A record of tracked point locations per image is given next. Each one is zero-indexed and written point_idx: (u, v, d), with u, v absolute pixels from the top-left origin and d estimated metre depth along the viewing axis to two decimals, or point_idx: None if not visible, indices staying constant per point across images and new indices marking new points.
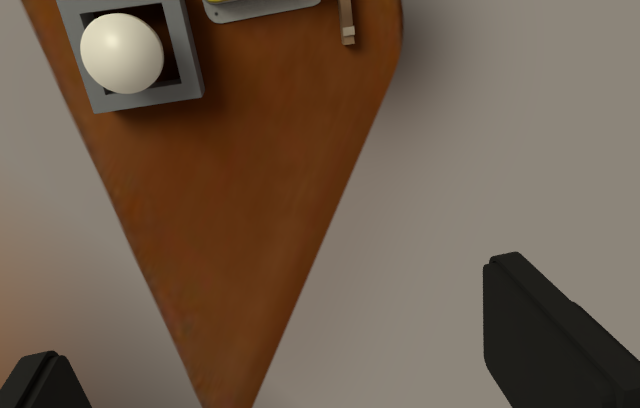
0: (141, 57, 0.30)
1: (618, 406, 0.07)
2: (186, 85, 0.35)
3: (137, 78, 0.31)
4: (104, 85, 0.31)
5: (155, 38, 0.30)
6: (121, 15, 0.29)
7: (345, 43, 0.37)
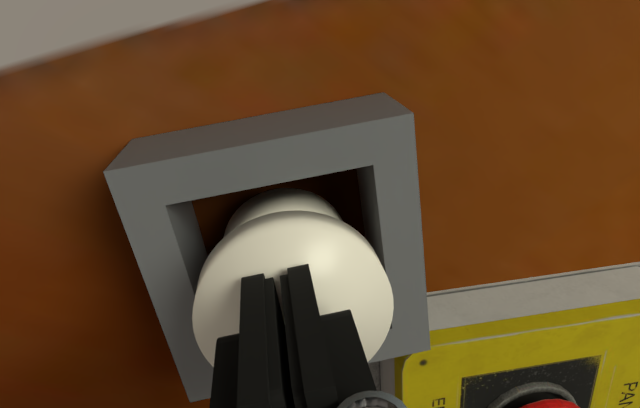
0: None
1: (308, 406, 0.07)
2: None
3: None
4: (210, 277, 0.11)
5: None
6: (388, 320, 0.12)
7: None
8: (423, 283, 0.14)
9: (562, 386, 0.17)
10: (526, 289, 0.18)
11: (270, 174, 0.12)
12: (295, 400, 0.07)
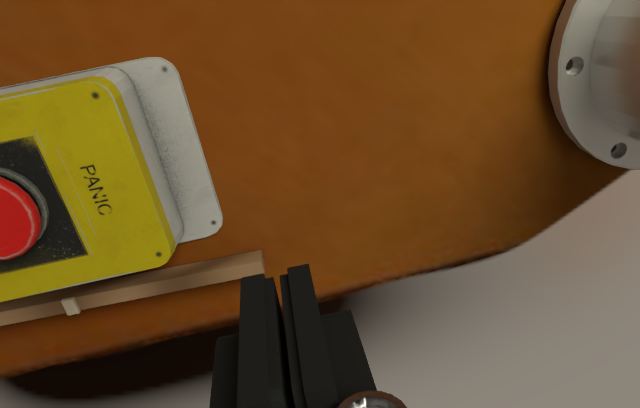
0: None
1: (308, 406, 0.07)
2: None
3: None
4: None
5: None
6: None
7: None
8: None
9: (15, 171, 0.19)
10: None
11: None
12: (295, 400, 0.07)
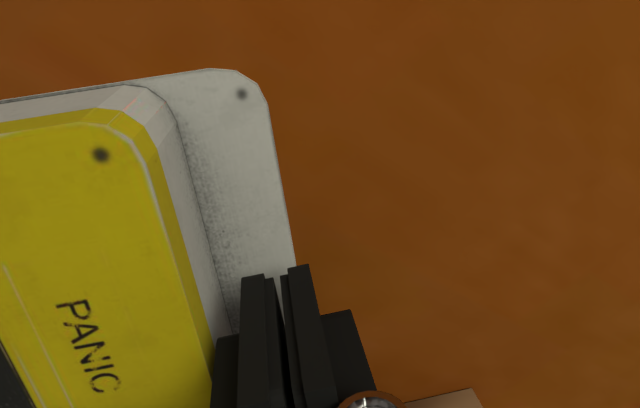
0: None
1: (308, 406, 0.07)
2: None
3: None
4: None
5: None
6: None
7: None
8: None
9: None
10: None
11: None
12: (295, 400, 0.07)
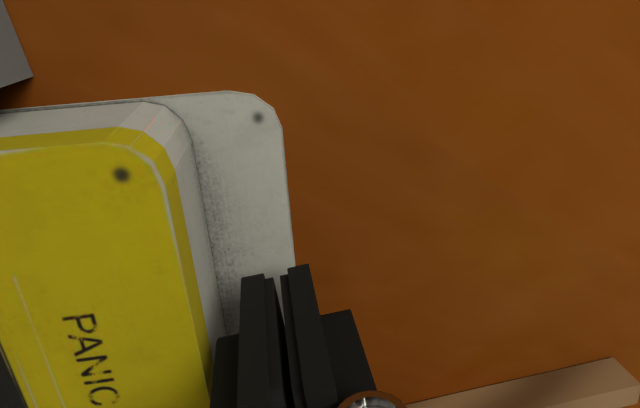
0: None
1: (308, 406, 0.07)
2: None
3: None
4: None
5: None
6: None
7: None
8: None
9: None
10: None
11: None
12: (295, 400, 0.07)
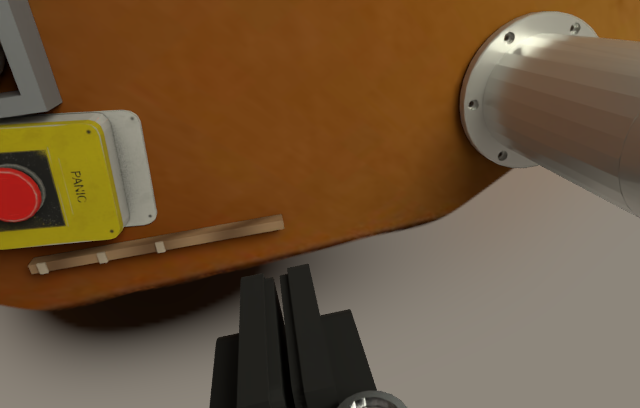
0: None
1: (308, 406, 0.07)
2: None
3: None
4: None
5: None
6: None
7: (29, 266, 0.36)
8: (31, 69, 0.29)
9: (29, 169, 0.32)
10: (20, 118, 0.32)
11: None
12: (295, 400, 0.07)
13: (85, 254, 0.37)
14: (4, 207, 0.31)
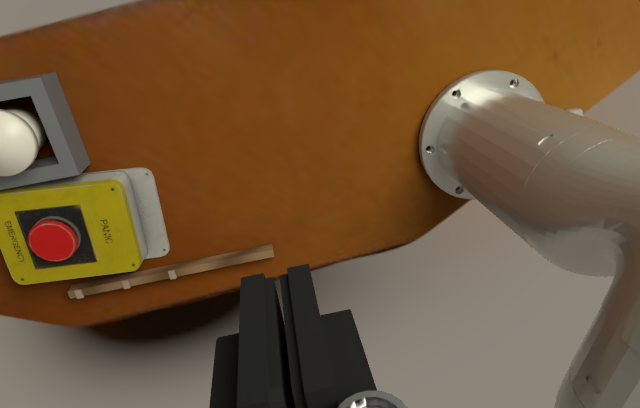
0: None
1: (308, 406, 0.07)
2: None
3: None
4: None
5: (20, 171, 0.36)
6: (32, 147, 0.35)
7: (68, 292, 0.44)
8: (66, 144, 0.37)
9: (67, 219, 0.40)
10: None
11: None
12: (295, 400, 0.07)
13: (112, 282, 0.45)
14: (49, 250, 0.40)
